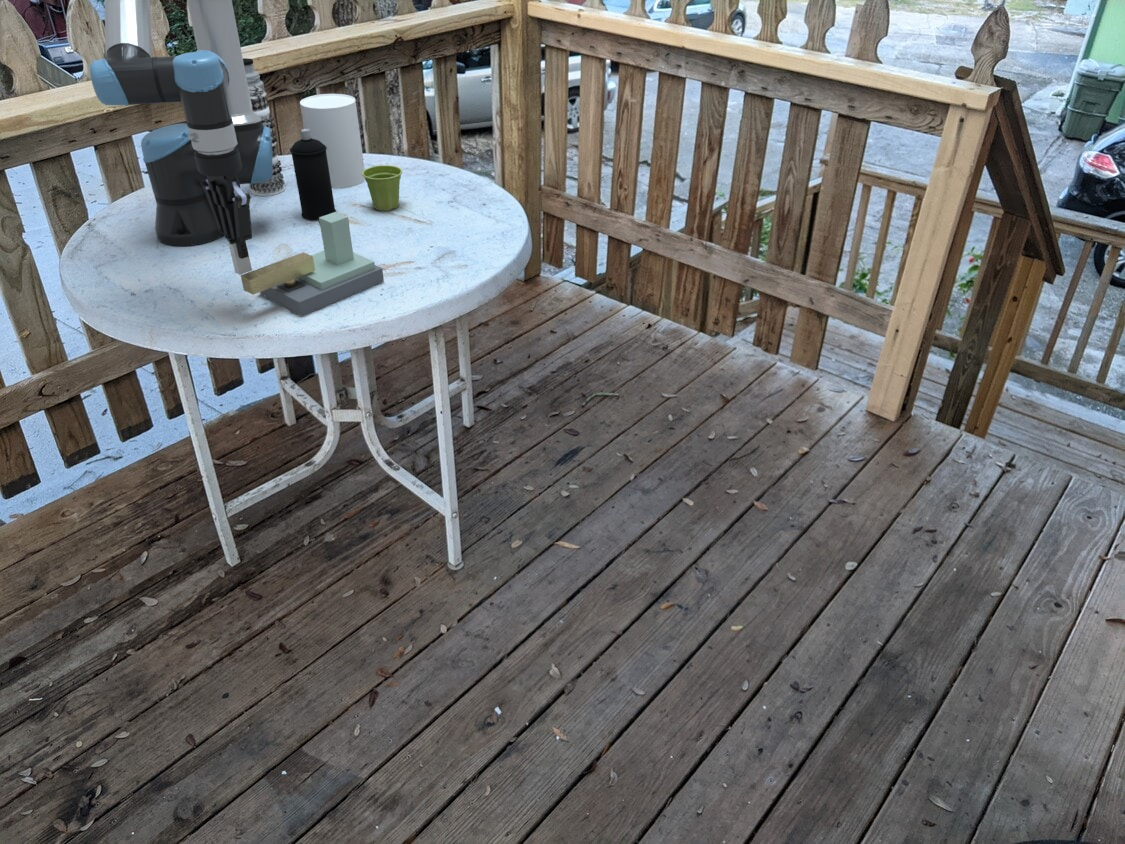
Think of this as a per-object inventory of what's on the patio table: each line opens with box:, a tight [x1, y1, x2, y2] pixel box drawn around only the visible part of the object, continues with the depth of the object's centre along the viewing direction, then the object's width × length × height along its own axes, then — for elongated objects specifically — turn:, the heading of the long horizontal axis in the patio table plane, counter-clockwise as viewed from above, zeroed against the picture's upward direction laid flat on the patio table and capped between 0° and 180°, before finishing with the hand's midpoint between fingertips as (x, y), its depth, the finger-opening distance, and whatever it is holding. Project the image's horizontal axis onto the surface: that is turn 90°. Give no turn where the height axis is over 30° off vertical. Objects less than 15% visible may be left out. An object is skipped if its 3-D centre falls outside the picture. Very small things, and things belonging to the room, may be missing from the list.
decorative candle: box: [248, 86, 286, 197], centre depth 210 cm, size 9×9×25 cm
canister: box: [299, 93, 366, 190], centre depth 218 cm, size 14×14×20 cm
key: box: [240, 251, 315, 296], centre depth 164 cm, size 3×14×5 cm, turn 139°
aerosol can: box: [289, 128, 338, 221], centre depth 199 cm, size 8×8×20 cm
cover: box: [297, 212, 376, 290], centre depth 170 cm, size 12×13×10 cm
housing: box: [259, 264, 385, 317], centre depth 172 cm, size 14×20×3 cm
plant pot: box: [362, 164, 403, 211], centre depth 207 cm, size 9×9×9 cm
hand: (243, 271), depth 164 cm, fingers closed
